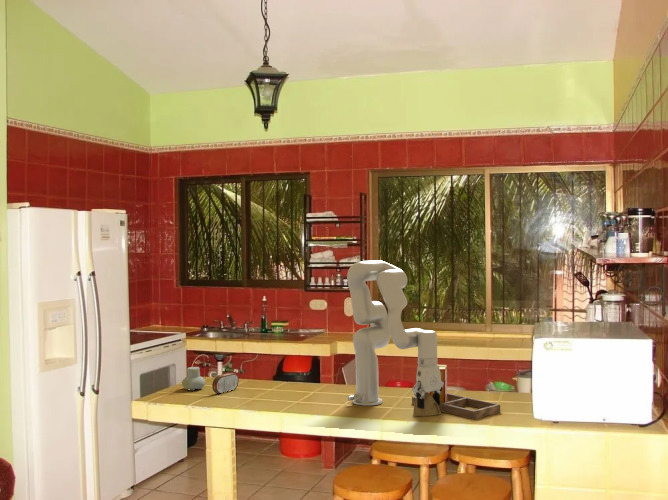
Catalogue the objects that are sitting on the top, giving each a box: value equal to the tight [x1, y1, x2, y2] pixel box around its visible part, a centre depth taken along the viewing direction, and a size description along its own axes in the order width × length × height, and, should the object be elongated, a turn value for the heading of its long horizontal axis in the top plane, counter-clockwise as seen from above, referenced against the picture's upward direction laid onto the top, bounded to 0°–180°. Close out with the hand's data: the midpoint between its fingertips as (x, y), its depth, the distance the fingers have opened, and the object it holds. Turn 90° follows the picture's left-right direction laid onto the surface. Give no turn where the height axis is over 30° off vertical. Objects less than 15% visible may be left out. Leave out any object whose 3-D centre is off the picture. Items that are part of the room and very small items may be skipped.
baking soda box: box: [429, 364, 448, 403], centre depth 290 cm, size 10×6×16 cm
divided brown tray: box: [411, 392, 501, 420], centre depth 284 cm, size 16×33×3 cm, turn 39°
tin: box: [211, 372, 240, 394], centre depth 319 cm, size 15×3×8 cm, turn 144°
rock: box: [412, 393, 442, 417], centre depth 273 cm, size 11×9×10 cm
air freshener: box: [181, 366, 206, 391], centre depth 326 cm, size 11×8×10 cm
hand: (428, 406), depth 273 cm, fingers closed on rock, 8 cm apart
